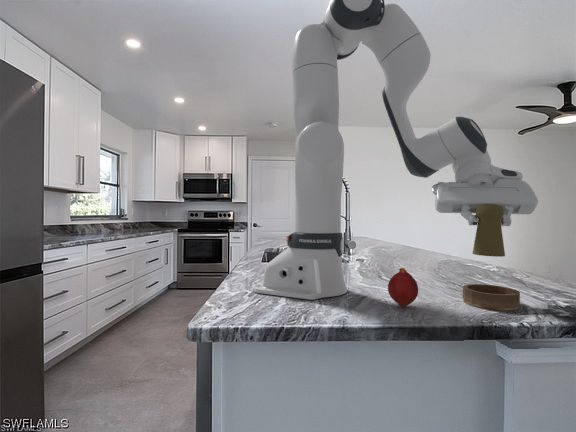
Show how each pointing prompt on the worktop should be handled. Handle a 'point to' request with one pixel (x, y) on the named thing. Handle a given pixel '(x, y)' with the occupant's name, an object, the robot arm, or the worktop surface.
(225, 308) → the worktop surface
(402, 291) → the onion
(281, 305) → the worktop surface
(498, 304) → the spice holder
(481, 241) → the cork
